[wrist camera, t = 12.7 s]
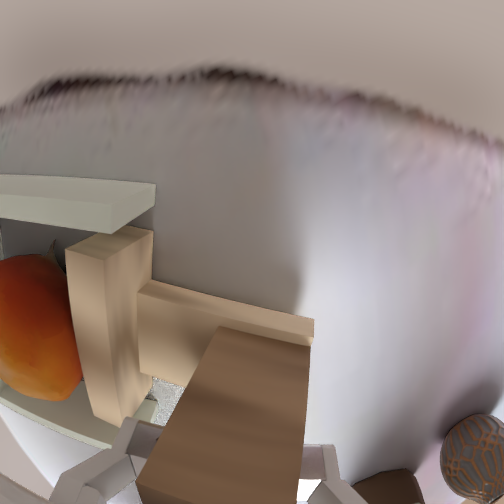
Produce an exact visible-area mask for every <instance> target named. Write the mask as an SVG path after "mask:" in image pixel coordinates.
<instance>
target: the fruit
mask: <svg viewBox="0 0 504 504" xmlns="http://www.w3.org/2000/svg"><path fill="white" fill-rule="evenodd" d="M54 243H55V240H54V241H53V243H52V245H51V247H50V249H49V252H48V253H47V254H46V256H43V255H39V254H30V255H19V256H13V257H10V258H7V259H4V260H1V261H0V378H1V379H2V380H3V381H4V382H5V383H6V384H8V385H9V386H10V387H11V388H12V389H14V390H16V391H18V392H19V393H21V394H23V395H26V396H29V397H33V398H37V399H43V400H48V401H62V400H65V399H68V398H69V397H70V395H71V393H72V392H73V391H74V389H75V388H76V387H77V386H78V384H79V383H80V381H81V380H82V378H83V372H82V367H81V363H80V358H79V353H78V348H77V343H76V338H75V332H74V326H73V320H72V313H71V306H70V299H69V290H68V281H67V276H66V274H65V273H64V272H63V270H62V269H61V268H60V266H59V264H58V262H57V260H56V258H55V255H54V252H53V248H54Z"/></svg>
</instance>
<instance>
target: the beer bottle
mask: <svg viewBox="0 0 504 504" xmlns="http://www.w3.org/2000/svg"><path fill="white" fill-rule="evenodd" d="M352 488H353V489H354V490H355V491H356V492H357V493H358V494H359V495H360V496H361V497H362V498H363V499H364V500H365V501H366V502H367V503H368V504H425V502H424V499H423V496H422V492H421V489H420V487H419V484H418V482H417V479H416V477H415V476H414V475H413V474H411V473H410V472H409V471H408V470H407V469H406V468H405V469H399V470H393V471H386V472H380V473H378V474H376V475H374V476H372V477H369V478H367V479H365V480H362V481H360V482H357V483H355V484H354V486H353V487H352Z"/></svg>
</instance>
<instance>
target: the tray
mask: <svg viewBox="0 0 504 504" xmlns="http://www.w3.org/2000/svg"><path fill="white" fill-rule="evenodd" d="M155 194H156V184H151V183H141V182H130V181H118V180H106V179H92V178H78V177H61V176H40V175H11V174H0V218H7V219H13V220H20V221H27V222H33V223H40V224H47V225H53V226H60V227H67V228H73V229H80V230H87V231H94V232H100V233H107V234H112V233H114V232H115V231H117V230H118V229H120V228H121V227H123V226H124V225H126V224H127V223H129V222H130V221H132V220H133V219H135V218H136V217H138V216H139V215H141V214H142V213H144V212H145V211H147V210H148V209H150V208H151V207H153V206H155ZM1 260H4V253H3V246H2V238H1V229H0V261H1ZM0 403H1V404H3V405H4V406H6V407H8V408H10V409H12V410H13V411H15V412H17V413H19V414H21V415H23V416H25V417H27V418H29V419H31V420H33V421H35V422H37V423H39V424H41V425H43V426H45V427H48V428H50V429H52V430H54V431H56V432H59V433H61V434H63V435H66V436H68V437H71V438H73V439H76V440H78V441H81V442H83V443H86V444H89V445H91V446H94V447H97V448H100V449H103V450H105V449H106V448H109V449H111V447H112V445H113V443H114V440H115V438H116V436H117V434H118V431H119V429H120V428H119V427H117V426H115V425H113V424H110V423H108V422H106V421H104V420H102V419H100V418H98V417H96V416H94V414H93V410H92V407H91V403H90V400H89V396H88V392H87V388H86V384H85V381H82V380H81V381H80V383H79V384H78V386H77V387H76V388H75V389H74V391H73V392H72V393H71V395H70V397H69V398H68V399H65V400H62V401H48V400H43V399H37V398H33V397H29V396H26V395H23V394H21V393H19V392H18V391H16V390H14V389H12V388H11V387H10V386H9V385H8V384H6V383H5V382H4V381H3V380H2V379H1V378H0ZM157 413H158V402H157V401H153V400H149V399H144V400H143V402H142V403H141V405H140V406H139V408H138V409H137V411H136V412H135V414H134V415H133V417H132V418H135V419H139V420H142V421H146V422H150V423H154V422H155V419H156V416H157Z"/></svg>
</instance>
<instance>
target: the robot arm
mask: <svg viewBox="0 0 504 504" xmlns="http://www.w3.org/2000/svg"><path fill="white" fill-rule="evenodd" d="M164 427H165V426H162V425H158V424H154V423H150V422H146V421H142V420H139V419H135V418H132V417H128V416H126V417H125V419H124V420H123V422H122V424H121V427H120V429H119V431H118V434H117V436H116V438H115V440H114V443H113V445H112V447H111V449H109V448H106V449H105V450H103V451H101V452H99V453H98V454H96V455H94V456H93V457H91V458H89V459H87V460H86V461H84V462H82V463H80V464H78V465H77V466H75V467H73V468H71V469H69V470H67V471H66V472H64V473H62V474H61V476H60V478H59V480H58V482H57V484H56V486H55V488H54V490H53V492H52V494H51V496H50V499H49V500H47V499H45V498H43V497H41V496H40V495H38V494H36V493H34V492H32V491H30V490H29V489H27V488H25V487H23V486H22V485H20V484H18V483H16V482H15V481H13V480H12V479H10V478H9V477H7V476H5V475H4V474H2V473H1V472H0V504H107V503H106V502H107V501H108V500H109V499H111V498H112V497H113V496H115V495H116V494H117V493H119V492H120V491H121V490H122V489H124V488H125V487H126V486H128V485H129V484H130V483H131V482H133V481H134V480H135V479H136V477H137V478H138V476H139V474H140V472H141V470H142V468H143V466H144V465H145V463H146V461H147V459H148V457H149V455H150V453H151V452H152V450H153V448H154V446H155V444H156V442H157V440H158V439H159V437H160V435H161V433H162V431H163V429H164ZM297 500H307V502H308V504H368V503H367V502H366V501H365V500H364V499H363V498H362V497H361V496H360V495H359V494H358V493H357V492H356V491H355V490H354V489H353V488H352V487H351V486H350V485H349V484H348V483H347V482H346V481H345V480H341V479H340V473H339V467H338V461H337V455H336V450H335V446H334V445H320V444H303V453H302V463H301V471H300V480H299V488H298V496H297Z"/></svg>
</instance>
